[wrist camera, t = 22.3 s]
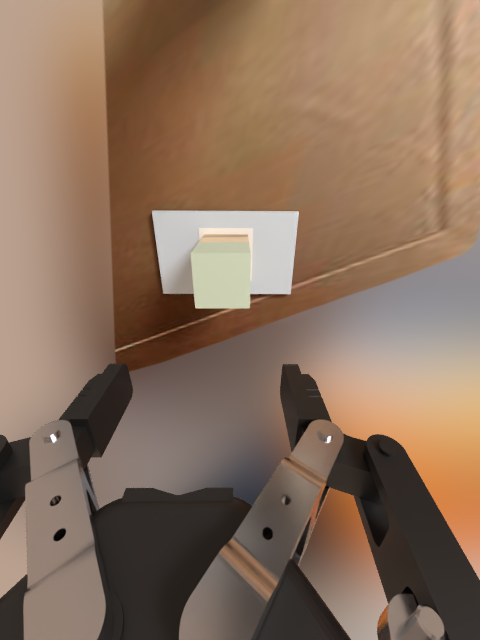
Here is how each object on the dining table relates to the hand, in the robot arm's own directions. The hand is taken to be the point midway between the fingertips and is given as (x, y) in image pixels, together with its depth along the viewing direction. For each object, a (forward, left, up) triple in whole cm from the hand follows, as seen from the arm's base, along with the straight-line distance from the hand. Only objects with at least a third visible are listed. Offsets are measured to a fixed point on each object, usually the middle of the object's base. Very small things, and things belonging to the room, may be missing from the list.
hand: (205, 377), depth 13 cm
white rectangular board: (0, 0, -28) cm, 28 cm away
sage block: (0, 0, -21) cm, 21 cm away
